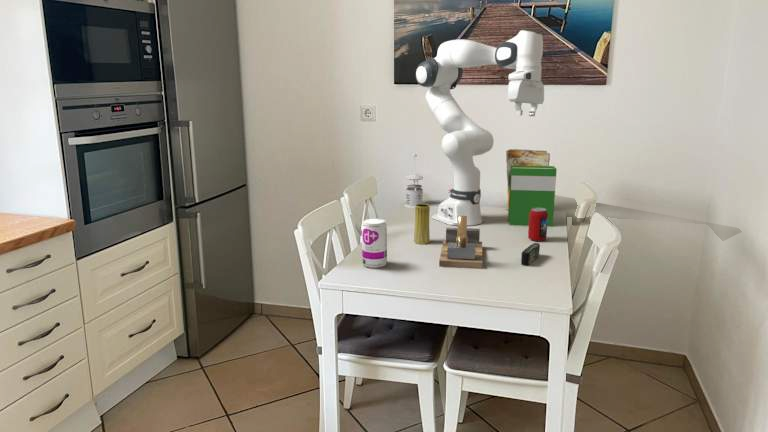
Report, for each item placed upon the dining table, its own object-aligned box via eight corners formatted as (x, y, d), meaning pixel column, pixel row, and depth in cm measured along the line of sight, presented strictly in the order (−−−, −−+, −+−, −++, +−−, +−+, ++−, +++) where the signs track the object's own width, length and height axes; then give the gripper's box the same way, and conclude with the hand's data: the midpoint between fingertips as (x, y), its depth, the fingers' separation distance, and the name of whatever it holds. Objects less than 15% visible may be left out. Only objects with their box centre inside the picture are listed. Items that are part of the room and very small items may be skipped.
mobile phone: (529, 253, 189) (542, 240, 201) (520, 251, 190) (534, 239, 203) (528, 267, 190) (541, 254, 202) (519, 265, 192) (533, 252, 204)
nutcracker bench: (443, 245, 213) (443, 226, 212) (481, 246, 211) (482, 228, 209) (439, 266, 190) (439, 246, 189) (482, 268, 188) (482, 248, 186)
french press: (402, 207, 272) (402, 155, 265) (405, 202, 283) (406, 151, 277) (423, 208, 270) (424, 155, 264) (425, 203, 281) (426, 152, 275)
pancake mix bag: (504, 207, 271) (507, 148, 264) (546, 210, 265) (550, 150, 258) (502, 210, 265) (505, 150, 258) (545, 214, 259) (549, 151, 252)
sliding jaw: (448, 252, 197) (449, 213, 194) (474, 253, 196) (476, 214, 192) (447, 258, 191) (448, 218, 188) (474, 259, 190) (476, 219, 186)
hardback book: (509, 225, 241) (511, 168, 235) (508, 220, 248) (510, 165, 242) (552, 226, 238) (556, 169, 232) (550, 222, 245) (554, 166, 239)
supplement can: (378, 270, 187) (378, 225, 183) (357, 265, 191) (356, 222, 188) (391, 263, 194) (391, 220, 190) (370, 259, 198) (370, 216, 194)
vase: (432, 240, 219) (432, 204, 215) (426, 245, 213) (427, 207, 210) (417, 238, 221) (417, 202, 218) (411, 243, 216) (411, 206, 212)
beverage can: (546, 242, 216) (548, 211, 213) (528, 241, 217) (530, 210, 214) (545, 237, 222) (547, 207, 219) (527, 236, 224) (529, 206, 221)
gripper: (534, 79, 215) (531, 116, 218) (505, 74, 200) (503, 114, 202) (549, 78, 211) (547, 116, 213) (522, 73, 196) (519, 115, 198)
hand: (525, 115), depth 208 cm, fingers open, 8 cm apart
